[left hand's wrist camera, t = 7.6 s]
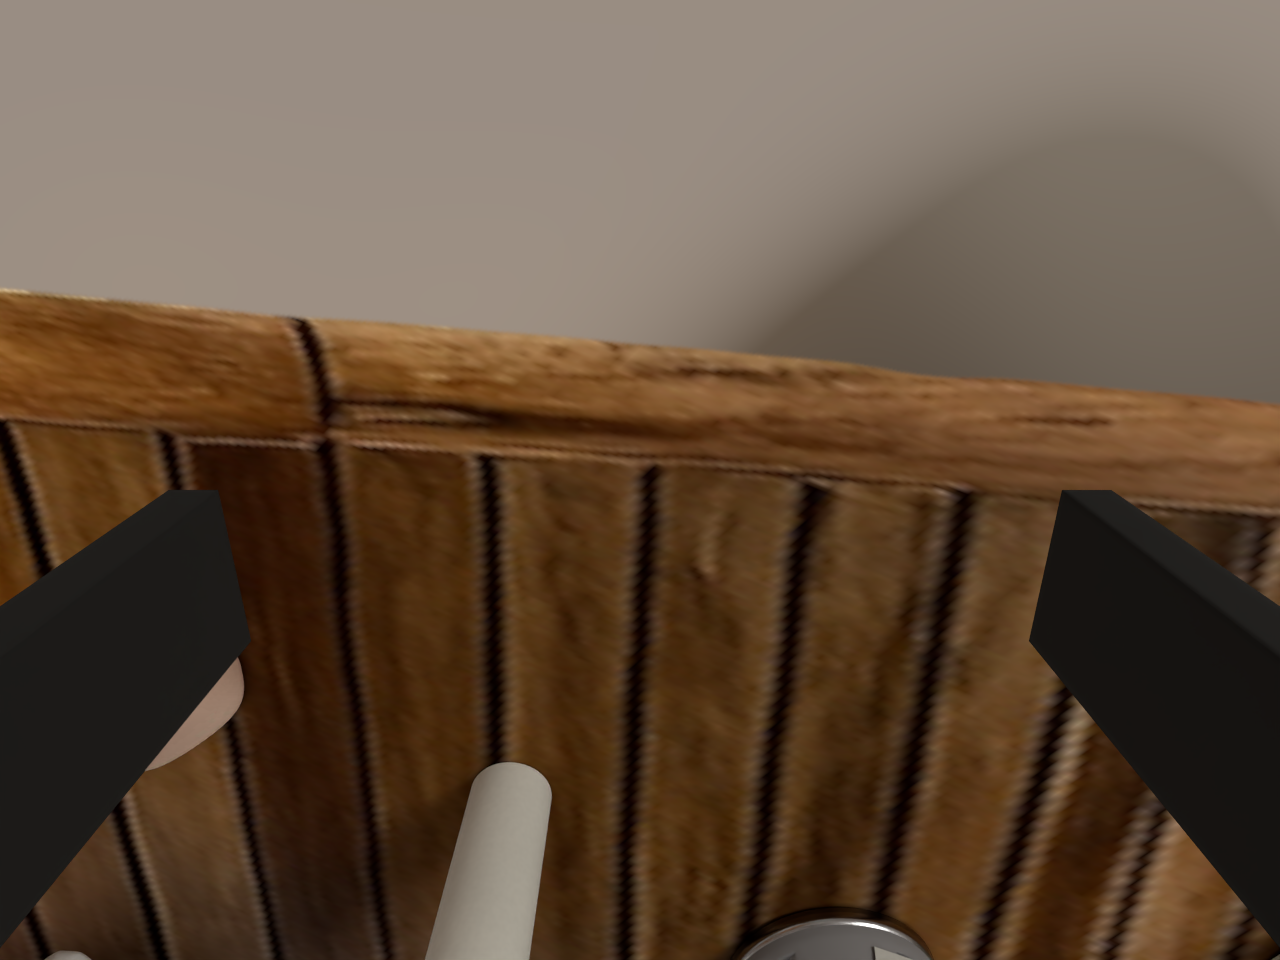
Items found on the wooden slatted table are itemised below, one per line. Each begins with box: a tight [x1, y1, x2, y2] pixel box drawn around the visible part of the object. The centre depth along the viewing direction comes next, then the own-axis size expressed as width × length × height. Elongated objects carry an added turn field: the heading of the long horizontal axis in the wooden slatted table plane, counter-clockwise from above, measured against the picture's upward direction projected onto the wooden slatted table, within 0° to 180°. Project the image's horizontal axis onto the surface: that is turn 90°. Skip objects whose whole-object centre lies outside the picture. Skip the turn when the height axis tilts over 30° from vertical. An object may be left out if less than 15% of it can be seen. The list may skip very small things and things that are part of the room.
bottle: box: [425, 762, 552, 960], centre depth 41 cm, size 5×5×19 cm
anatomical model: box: [145, 657, 244, 771], centre depth 45 cm, size 13×4×12 cm
